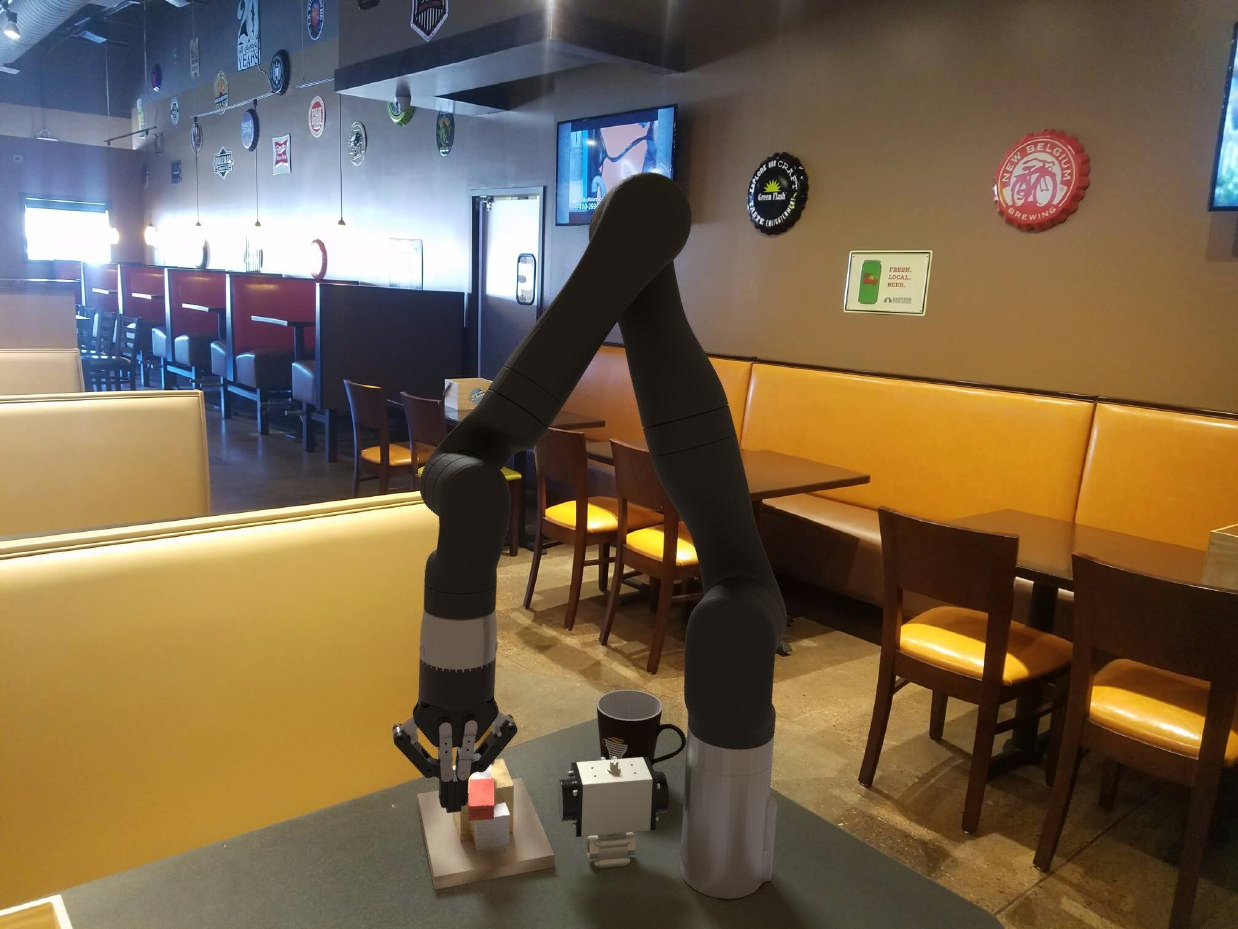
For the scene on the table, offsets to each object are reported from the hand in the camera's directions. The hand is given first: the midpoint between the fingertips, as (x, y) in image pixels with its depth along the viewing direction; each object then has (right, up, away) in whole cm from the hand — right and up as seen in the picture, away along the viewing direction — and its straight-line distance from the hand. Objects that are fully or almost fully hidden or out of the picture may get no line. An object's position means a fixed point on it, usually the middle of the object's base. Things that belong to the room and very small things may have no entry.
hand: (452, 808), depth 90 cm
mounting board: (+1, -8, +11) cm, 14 cm away
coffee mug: (+19, -6, +24) cm, 31 cm away
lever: (+2, 0, +5) cm, 5 cm away
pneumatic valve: (+16, -9, +8) cm, 20 cm away
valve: (+1, -6, +11) cm, 13 cm away
